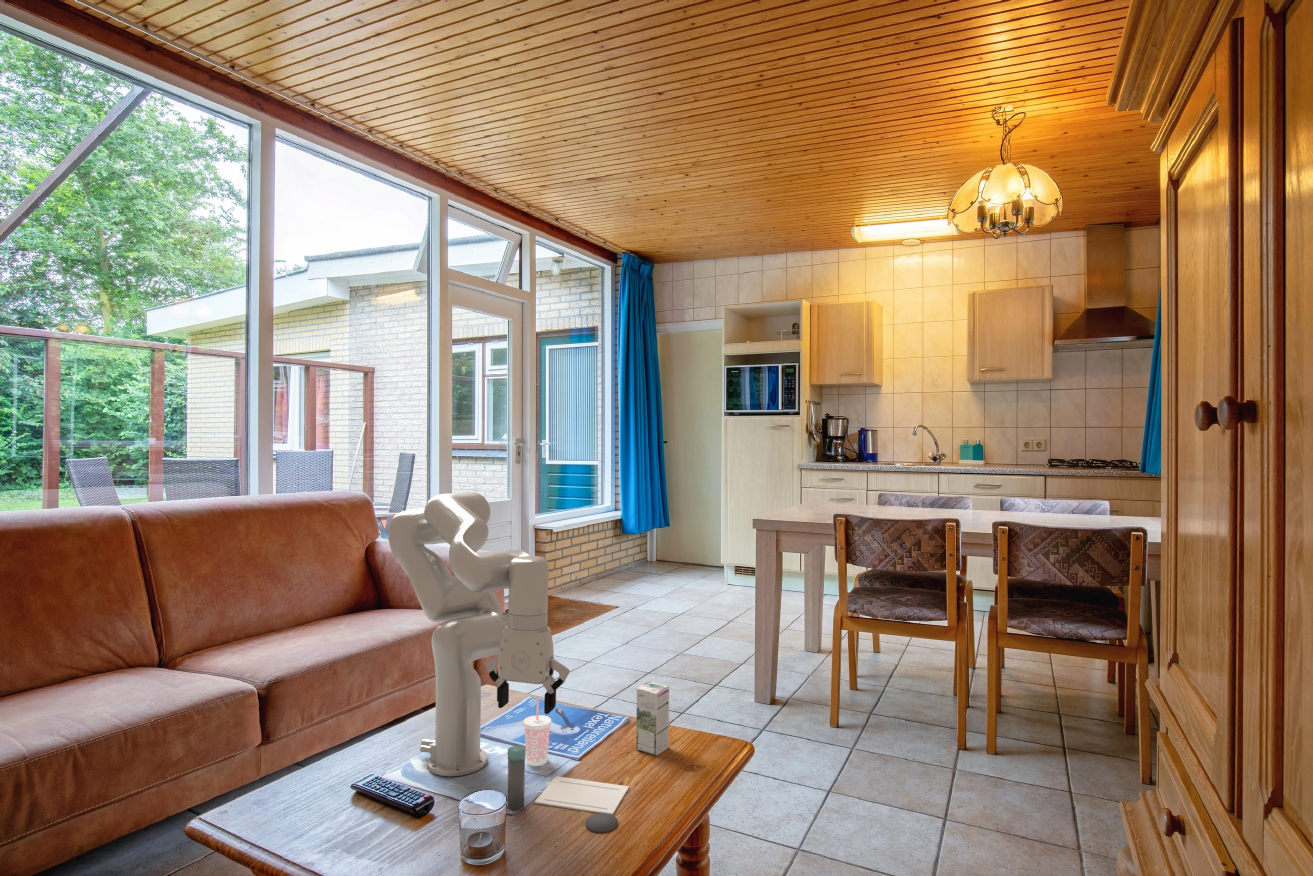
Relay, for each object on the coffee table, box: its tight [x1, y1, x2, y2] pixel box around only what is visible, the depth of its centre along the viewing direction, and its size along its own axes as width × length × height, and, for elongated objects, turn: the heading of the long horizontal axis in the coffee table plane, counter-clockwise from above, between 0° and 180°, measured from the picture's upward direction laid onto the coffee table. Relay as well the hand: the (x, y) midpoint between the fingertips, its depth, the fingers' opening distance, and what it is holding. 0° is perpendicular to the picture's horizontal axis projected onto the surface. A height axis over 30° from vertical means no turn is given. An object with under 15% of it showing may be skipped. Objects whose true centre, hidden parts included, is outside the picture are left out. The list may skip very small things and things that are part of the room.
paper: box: [534, 776, 630, 816], centre depth 143 cm, size 16×11×1 cm
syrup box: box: [635, 681, 670, 756], centre depth 165 cm, size 6×6×14 cm
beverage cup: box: [522, 697, 552, 767], centre depth 158 cm, size 6×6×14 cm
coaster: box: [584, 813, 619, 834], centre depth 132 cm, size 6×6×1 cm
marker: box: [506, 745, 526, 812], centre depth 138 cm, size 3×3×11 cm
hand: (526, 708), depth 139 cm, fingers open, 9 cm apart
